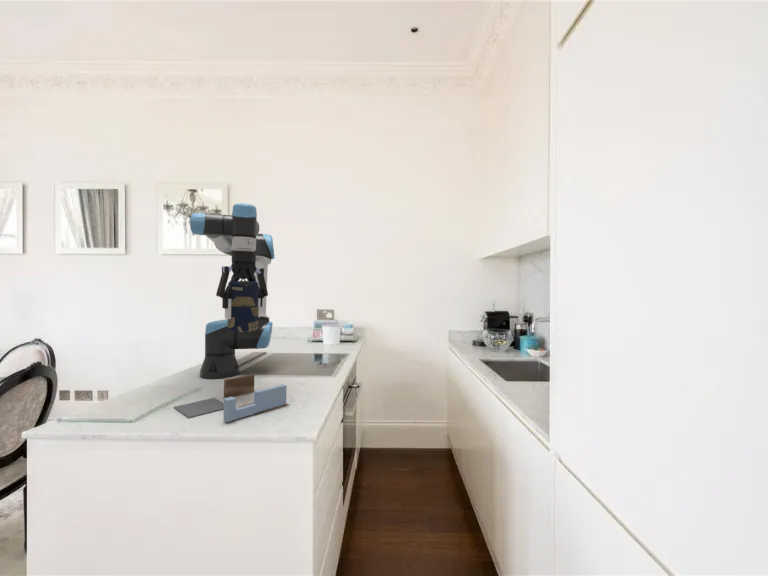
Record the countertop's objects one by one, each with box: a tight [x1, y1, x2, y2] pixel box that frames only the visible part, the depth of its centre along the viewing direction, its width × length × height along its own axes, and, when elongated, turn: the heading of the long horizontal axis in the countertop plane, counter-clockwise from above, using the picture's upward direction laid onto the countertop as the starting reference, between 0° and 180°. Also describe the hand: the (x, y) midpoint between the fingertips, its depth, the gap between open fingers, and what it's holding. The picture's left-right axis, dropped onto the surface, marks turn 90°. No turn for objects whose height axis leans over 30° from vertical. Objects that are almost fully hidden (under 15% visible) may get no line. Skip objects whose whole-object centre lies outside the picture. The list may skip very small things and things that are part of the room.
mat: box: [173, 397, 224, 419], centre depth 106 cm, size 12×12×1 cm
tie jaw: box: [223, 383, 288, 423], centre depth 102 cm, size 3×19×6 cm, turn 139°
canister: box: [227, 278, 259, 332], centre depth 114 cm, size 10×10×18 cm
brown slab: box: [223, 374, 290, 416], centre depth 113 cm, size 23×12×6 cm, turn 49°
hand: (243, 317), depth 114 cm, fingers closed on canister, 9 cm apart
